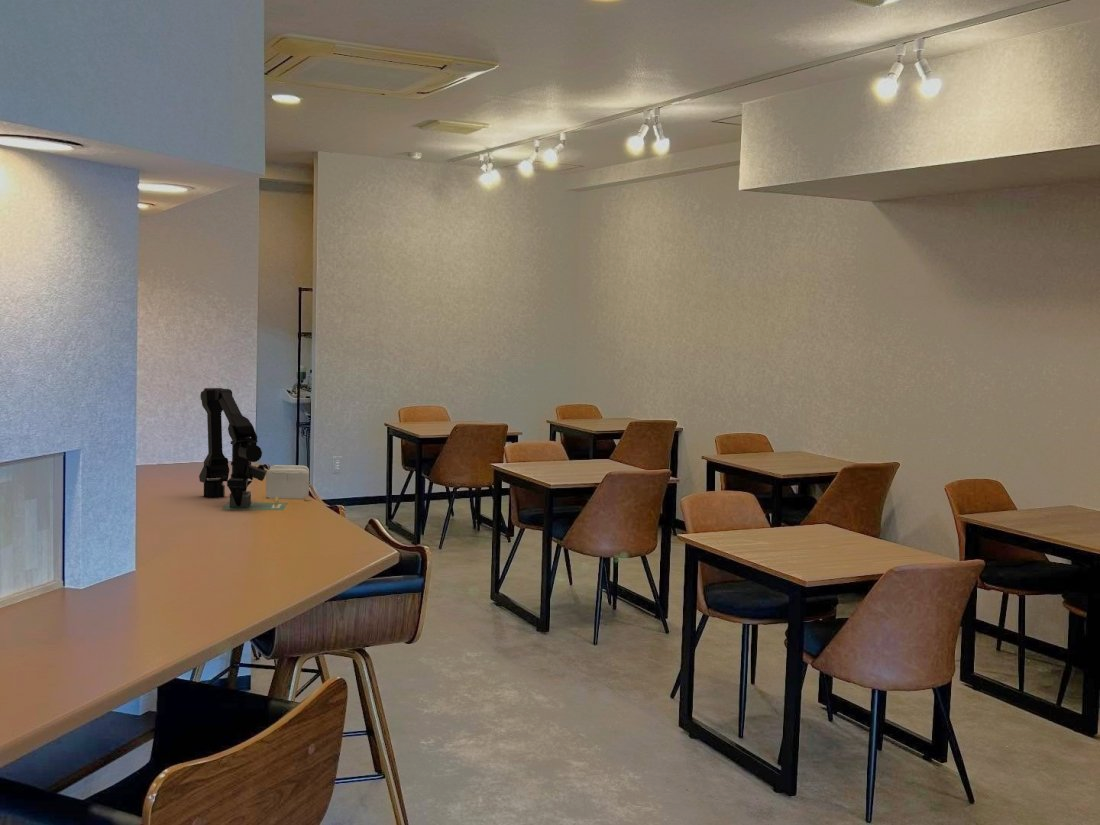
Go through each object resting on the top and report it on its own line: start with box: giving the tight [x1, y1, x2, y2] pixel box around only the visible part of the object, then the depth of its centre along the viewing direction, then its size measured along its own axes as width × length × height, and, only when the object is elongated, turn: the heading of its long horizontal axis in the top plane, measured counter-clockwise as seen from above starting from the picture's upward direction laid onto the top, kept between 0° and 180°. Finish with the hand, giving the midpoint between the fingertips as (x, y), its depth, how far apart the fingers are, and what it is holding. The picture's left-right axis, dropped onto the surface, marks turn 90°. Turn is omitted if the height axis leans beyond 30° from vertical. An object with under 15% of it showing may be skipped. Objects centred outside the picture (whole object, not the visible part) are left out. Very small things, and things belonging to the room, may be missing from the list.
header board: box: [221, 496, 288, 511], centre depth 350 cm, size 20×14×4 cm
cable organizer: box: [265, 464, 310, 500], centre depth 372 cm, size 15×11×12 cm
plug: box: [229, 490, 252, 508], centre depth 349 cm, size 6×7×4 cm
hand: (240, 503), depth 349 cm, fingers closed on plug, 7 cm apart
